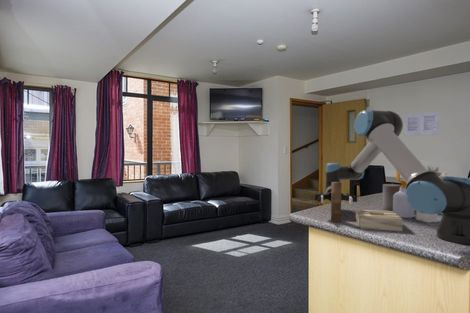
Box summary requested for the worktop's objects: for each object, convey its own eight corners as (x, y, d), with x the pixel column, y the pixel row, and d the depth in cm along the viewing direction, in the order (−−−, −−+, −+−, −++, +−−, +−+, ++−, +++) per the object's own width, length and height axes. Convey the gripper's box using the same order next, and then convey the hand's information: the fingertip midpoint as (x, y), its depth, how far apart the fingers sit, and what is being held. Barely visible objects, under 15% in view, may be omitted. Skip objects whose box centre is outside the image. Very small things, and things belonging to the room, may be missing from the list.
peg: (342, 221, 140) (343, 182, 140) (333, 222, 140) (333, 183, 139) (338, 219, 145) (338, 181, 144) (329, 219, 144) (329, 181, 144)
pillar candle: (404, 209, 170) (404, 182, 170) (397, 211, 163) (398, 183, 163) (386, 207, 177) (386, 181, 177) (379, 209, 170) (379, 182, 170)
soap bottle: (416, 218, 148) (417, 168, 147) (395, 217, 149) (396, 167, 149) (409, 214, 156) (410, 166, 156) (390, 213, 158) (391, 166, 157)
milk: (437, 222, 141) (439, 174, 141) (427, 222, 140) (428, 174, 139) (425, 218, 147) (427, 173, 146) (415, 219, 145) (417, 173, 145)
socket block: (355, 219, 144) (355, 209, 144) (392, 222, 140) (392, 211, 140) (360, 228, 129) (360, 216, 129) (402, 231, 125) (402, 219, 125)
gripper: (358, 202, 156) (365, 210, 136) (309, 200, 162) (309, 207, 142) (358, 187, 156) (365, 193, 135) (309, 185, 162) (309, 191, 141)
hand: (336, 200), depth 138 cm, fingers open, 12 cm apart
